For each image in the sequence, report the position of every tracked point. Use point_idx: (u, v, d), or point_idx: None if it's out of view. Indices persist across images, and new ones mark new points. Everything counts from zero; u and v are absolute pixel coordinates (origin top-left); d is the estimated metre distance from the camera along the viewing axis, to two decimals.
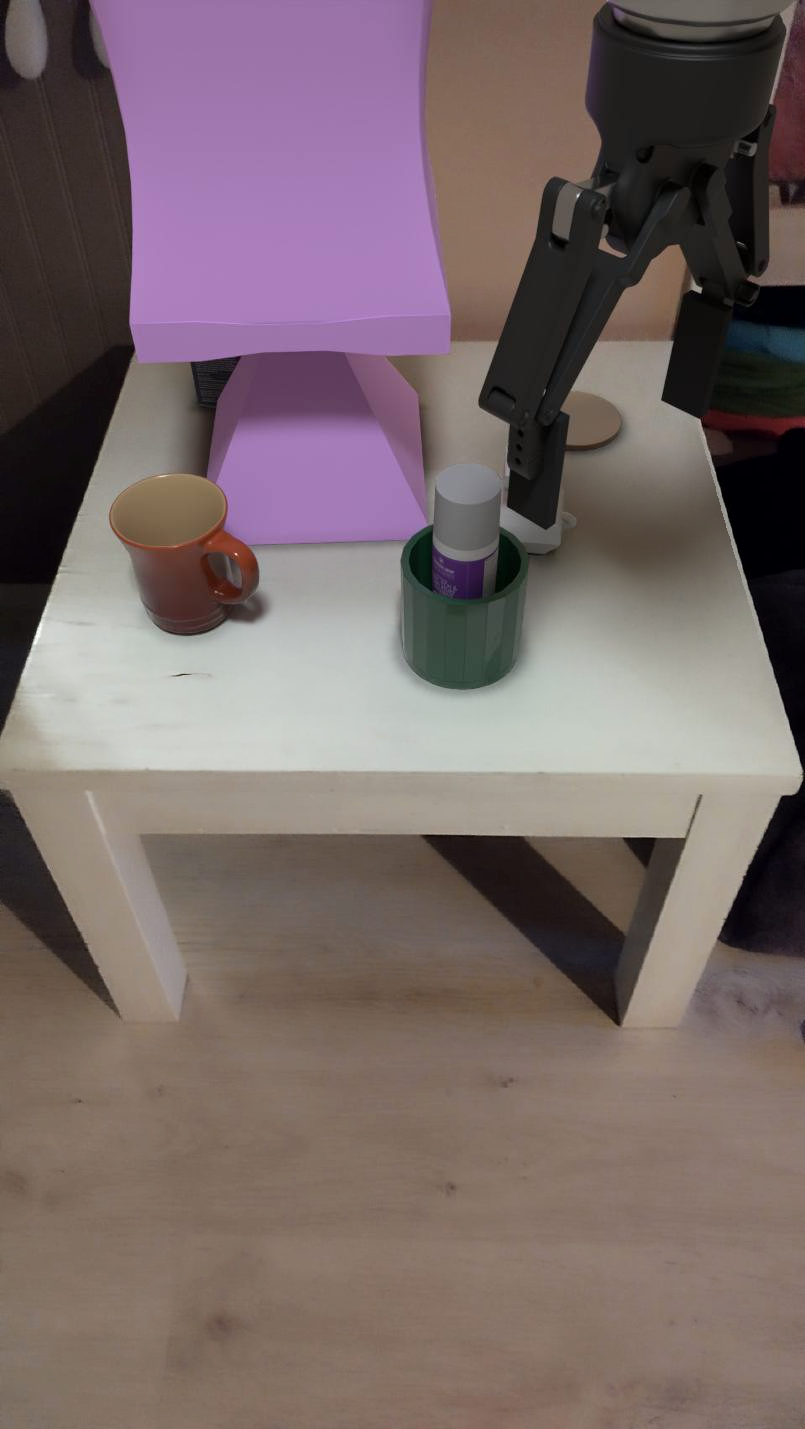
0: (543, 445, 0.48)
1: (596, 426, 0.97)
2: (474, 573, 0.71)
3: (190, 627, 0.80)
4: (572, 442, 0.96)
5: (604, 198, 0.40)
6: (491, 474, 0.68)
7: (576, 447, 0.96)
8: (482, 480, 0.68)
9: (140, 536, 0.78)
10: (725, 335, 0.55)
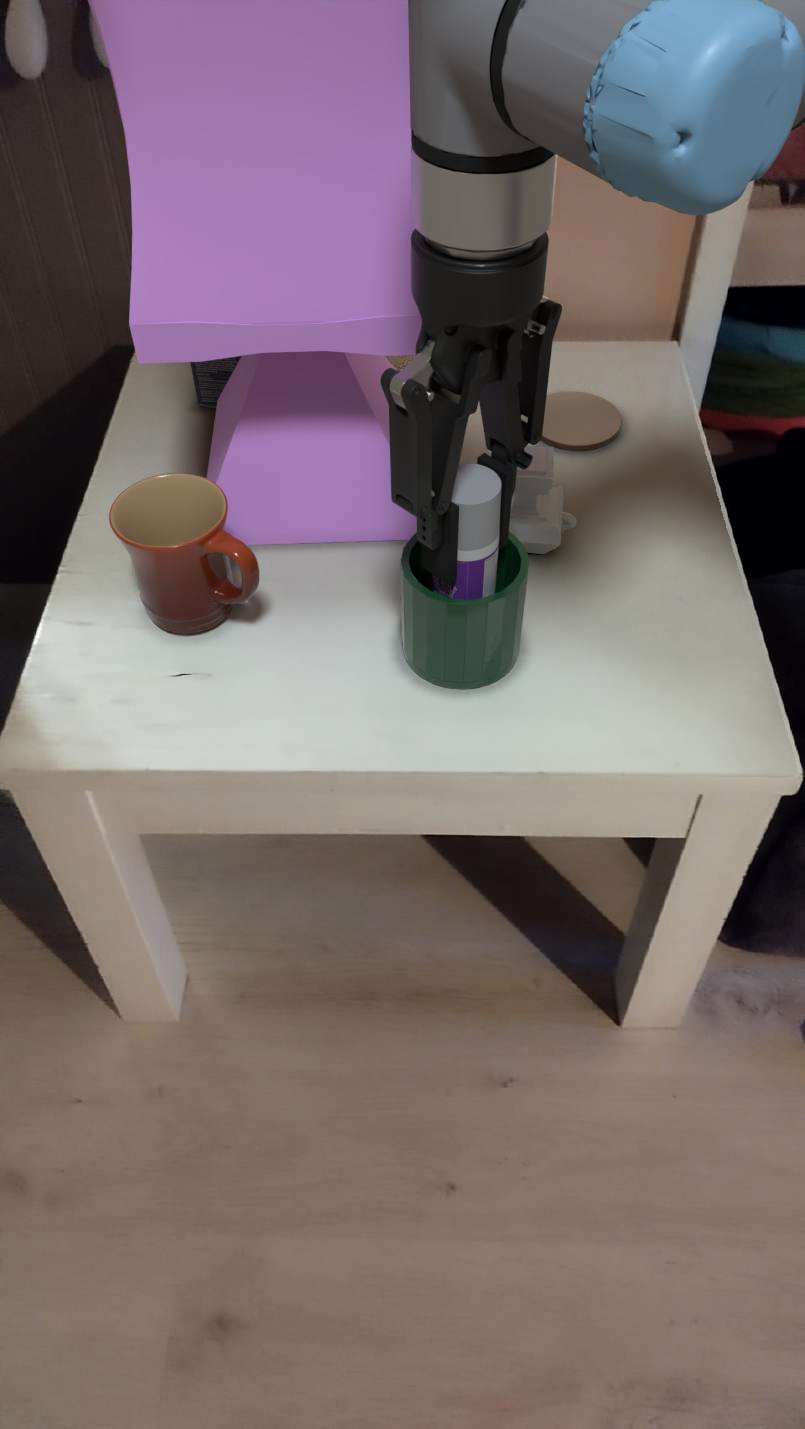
0: (441, 526, 0.67)
1: (596, 426, 0.97)
2: (474, 573, 0.71)
3: (190, 627, 0.80)
4: (572, 442, 0.96)
5: (419, 386, 0.56)
6: (491, 474, 0.68)
7: (576, 447, 0.96)
8: (482, 480, 0.68)
9: (140, 536, 0.78)
10: (510, 489, 0.69)
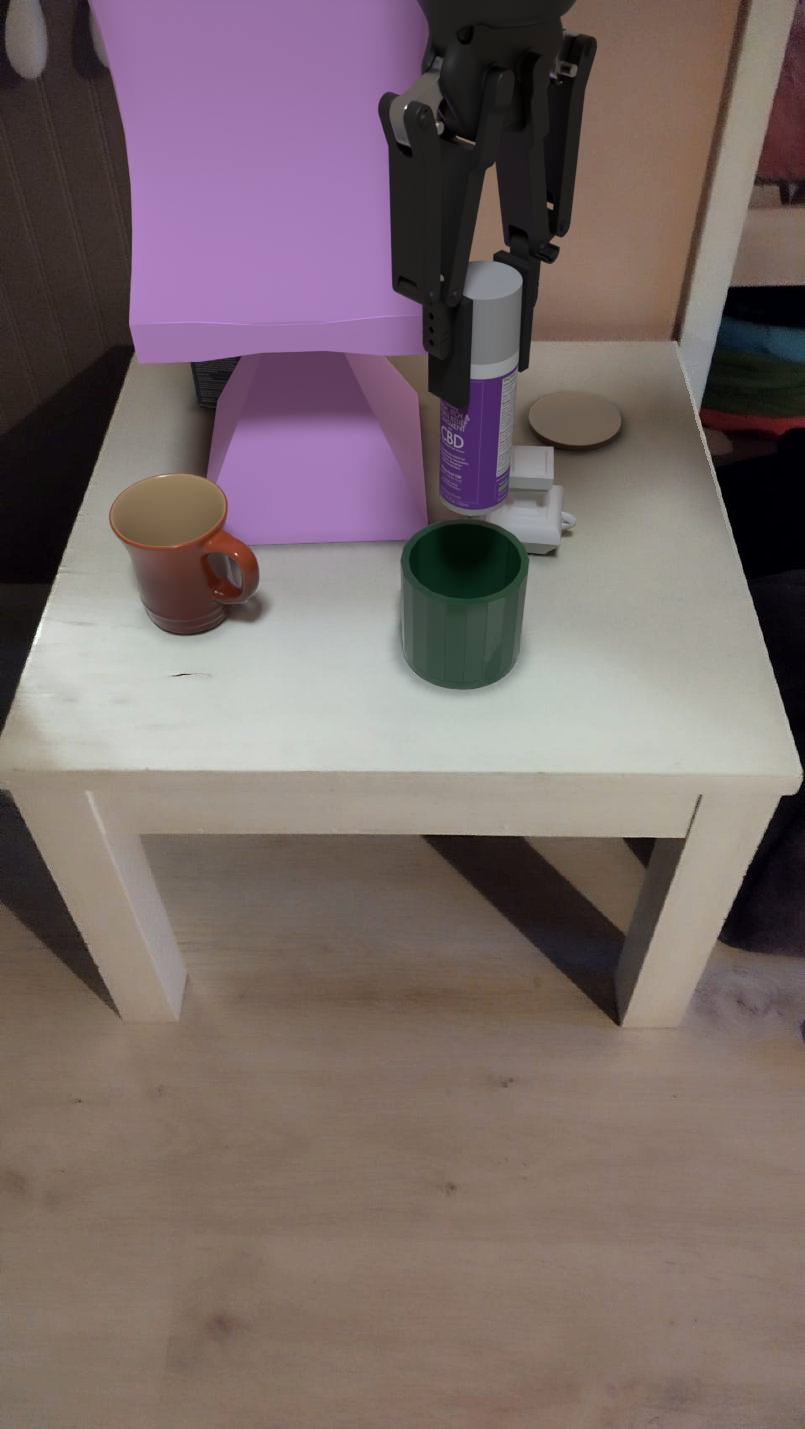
0: (452, 328, 0.56)
1: (596, 426, 0.97)
2: (490, 396, 0.60)
3: (190, 627, 0.80)
4: (572, 442, 0.96)
5: (425, 108, 0.46)
6: (510, 270, 0.58)
7: (576, 447, 0.96)
8: (500, 277, 0.57)
9: (140, 536, 0.78)
10: (533, 291, 0.59)
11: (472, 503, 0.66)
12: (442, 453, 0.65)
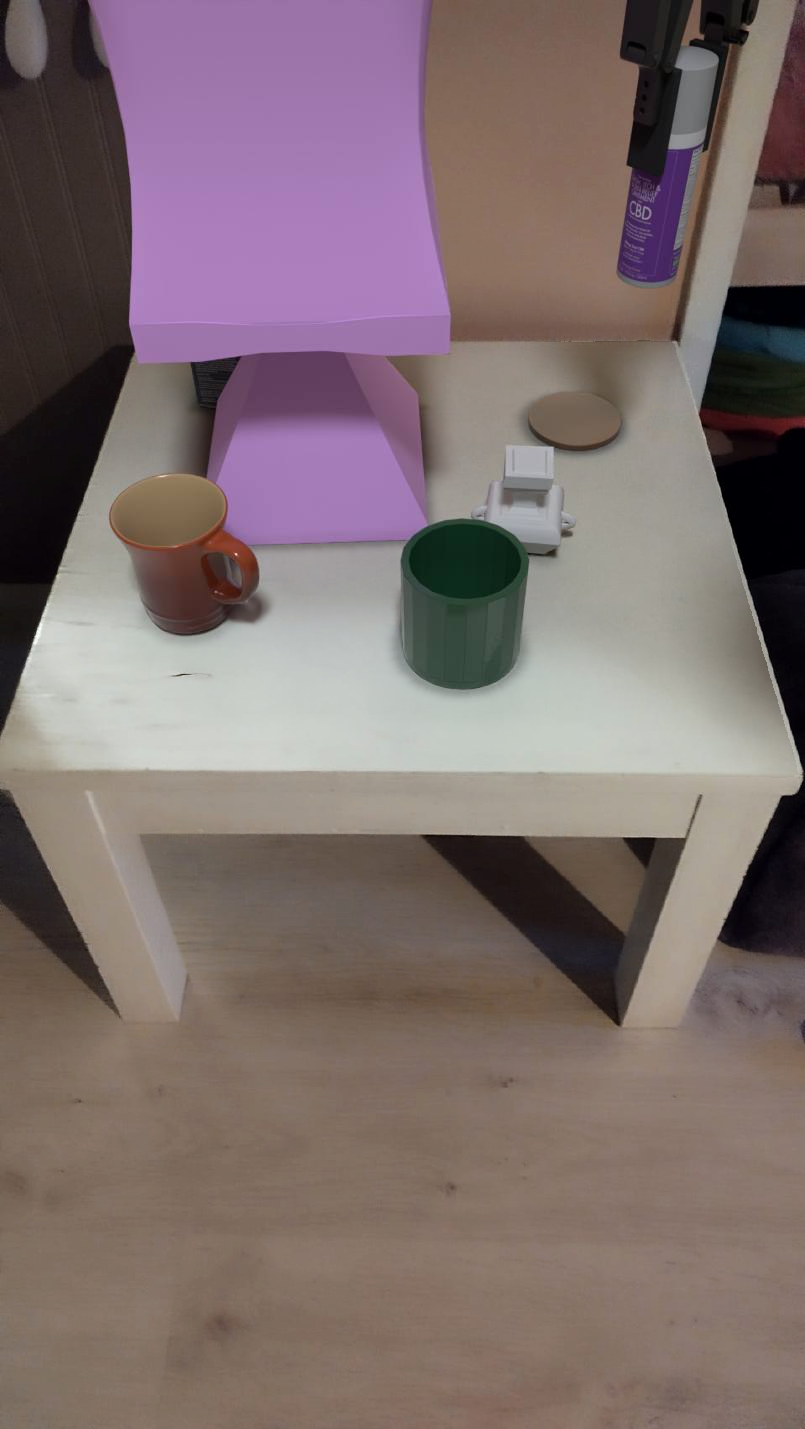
0: (661, 96, 0.67)
1: (596, 426, 0.97)
2: (681, 167, 0.71)
3: (190, 627, 0.80)
4: (572, 442, 0.96)
5: None
6: (706, 52, 0.68)
7: (576, 447, 0.96)
8: (699, 56, 0.68)
9: (140, 536, 0.78)
10: (722, 73, 0.70)
11: (650, 276, 0.77)
12: (627, 229, 0.76)
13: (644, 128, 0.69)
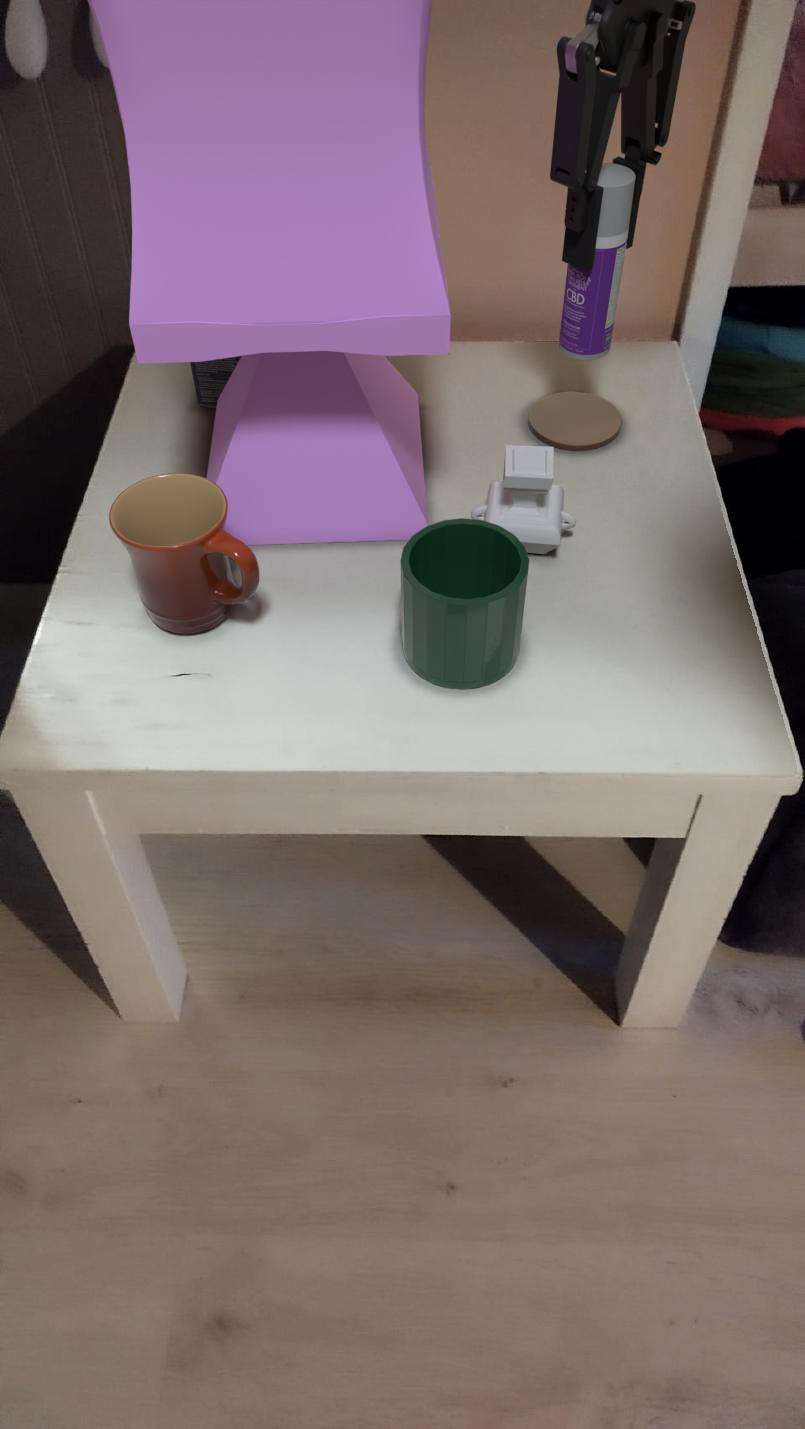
0: (587, 208, 0.80)
1: (596, 426, 0.97)
2: (607, 263, 0.84)
3: (190, 627, 0.80)
4: (572, 442, 0.96)
5: (591, 46, 0.70)
6: (626, 169, 0.81)
7: (576, 447, 0.96)
8: (619, 173, 0.81)
9: (140, 536, 0.78)
10: (641, 186, 0.83)
11: (586, 349, 0.90)
12: (565, 311, 0.89)
13: (575, 232, 0.83)
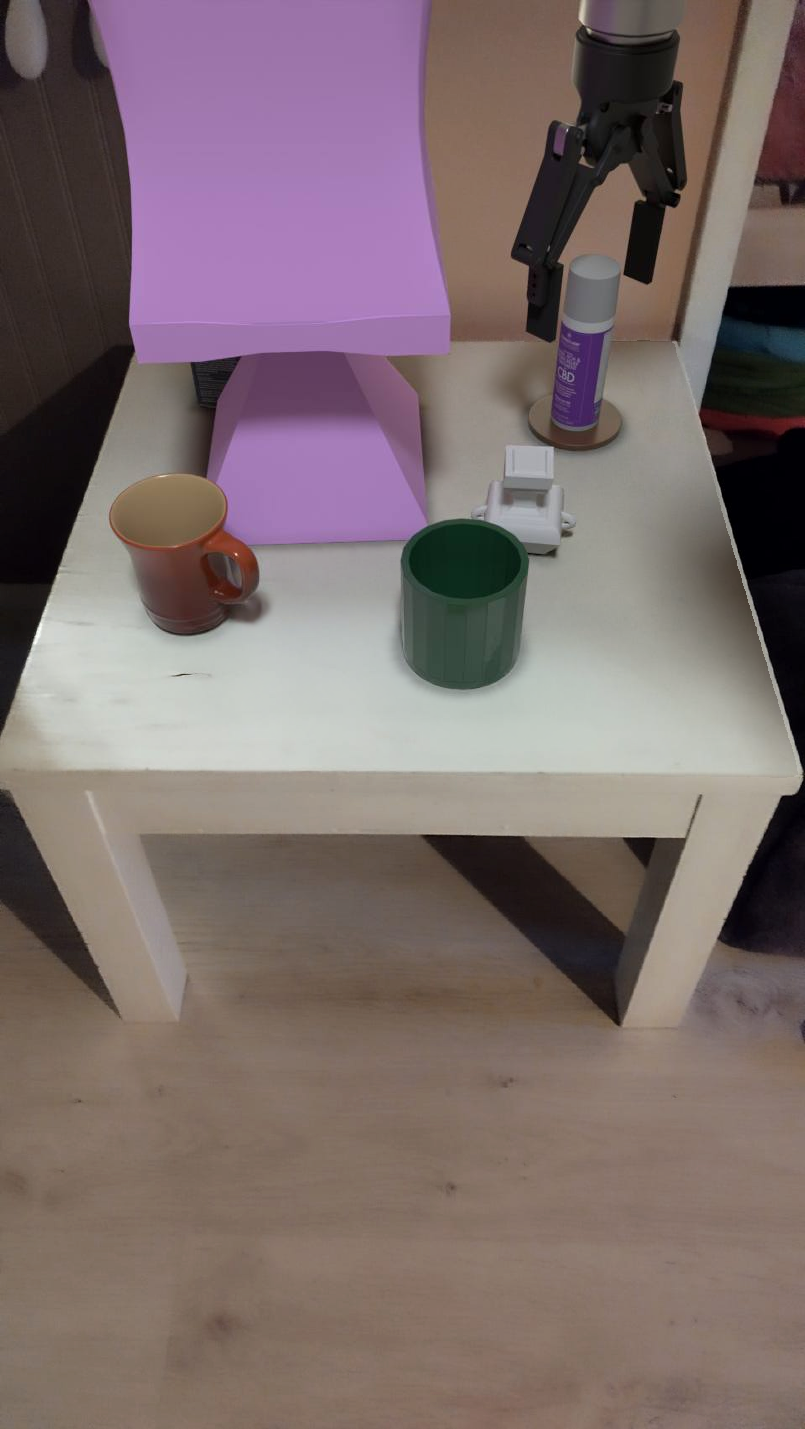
0: (548, 284, 0.82)
1: (596, 426, 0.97)
2: (595, 345, 0.90)
3: (190, 627, 0.80)
4: (572, 442, 0.96)
5: (582, 131, 0.74)
6: (612, 261, 0.87)
7: (576, 447, 0.96)
8: (606, 265, 0.87)
9: (140, 536, 0.78)
10: (660, 227, 0.88)
11: (576, 422, 0.96)
12: (557, 386, 0.95)
13: (537, 305, 0.84)
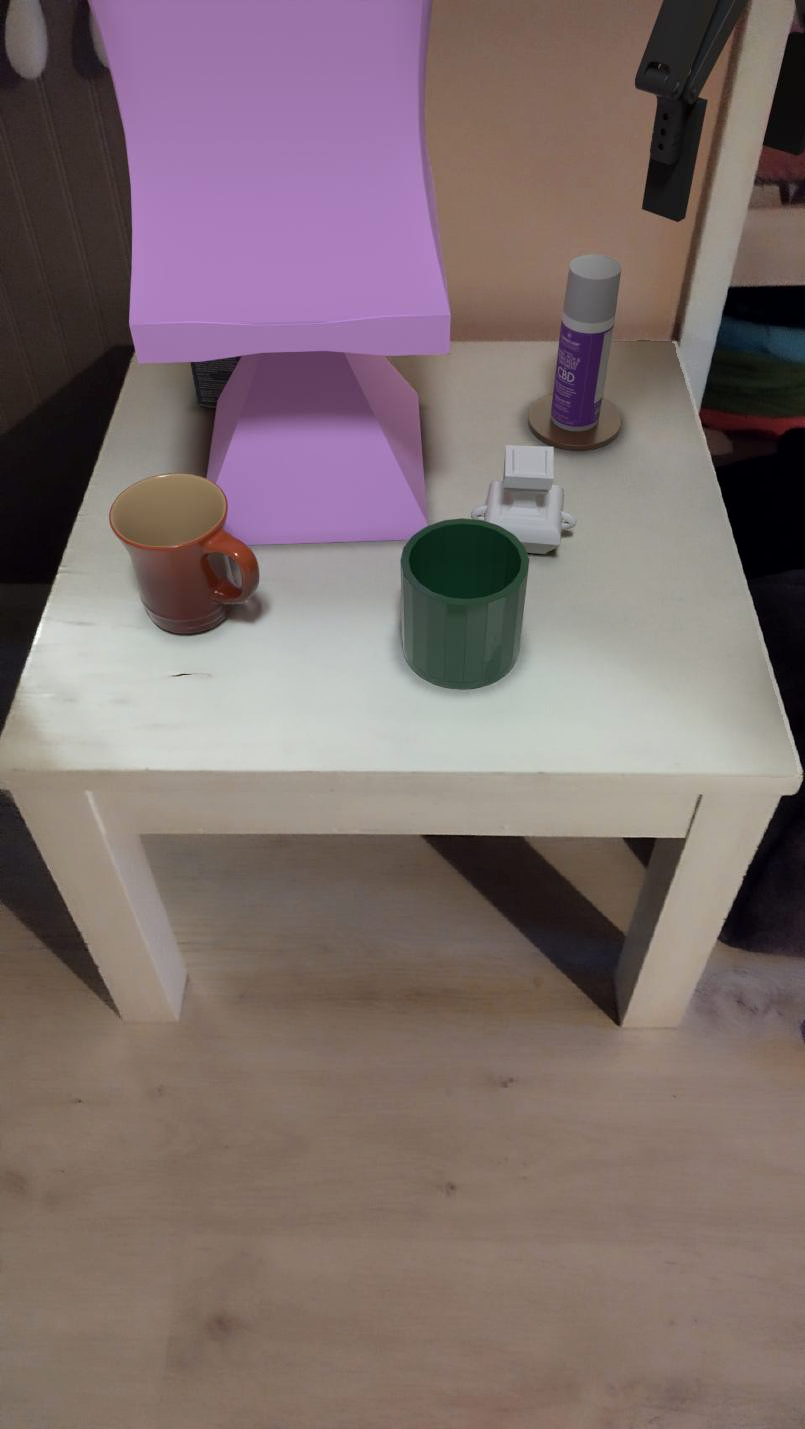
0: (683, 130, 0.58)
1: (596, 426, 0.97)
2: (595, 345, 0.90)
3: (190, 627, 0.80)
4: (572, 442, 0.96)
5: None
6: (612, 261, 0.87)
7: (576, 447, 0.96)
8: (606, 265, 0.87)
9: (140, 536, 0.78)
10: None
11: (576, 422, 0.96)
12: (557, 386, 0.95)
13: (662, 167, 0.60)
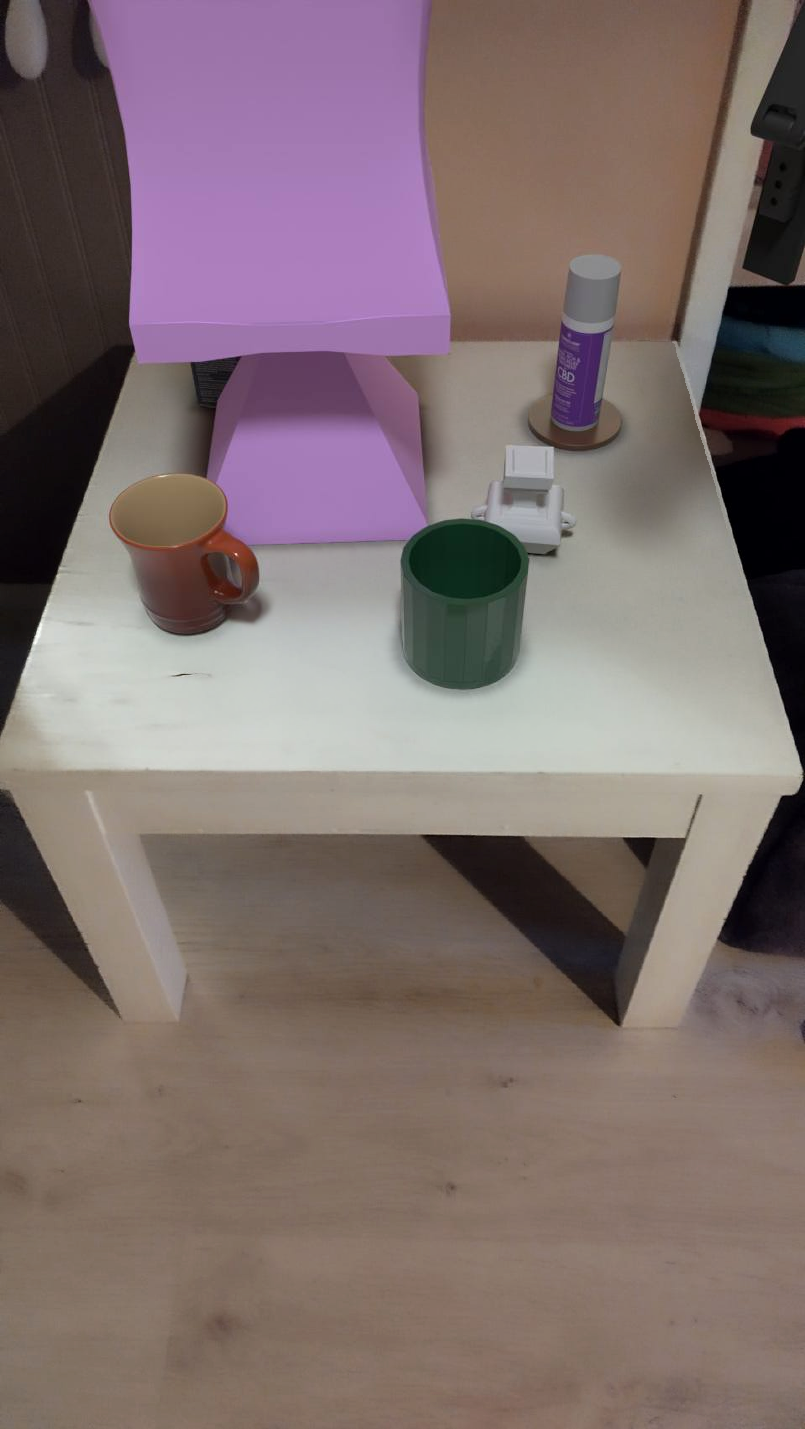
0: (802, 182, 0.49)
1: (596, 426, 0.97)
2: (595, 345, 0.90)
3: (190, 627, 0.80)
4: (572, 442, 0.96)
5: None
6: (612, 261, 0.87)
7: (576, 447, 0.96)
8: (606, 265, 0.87)
9: (140, 536, 0.78)
10: None
11: (576, 422, 0.96)
12: (557, 386, 0.95)
13: (772, 222, 0.51)
